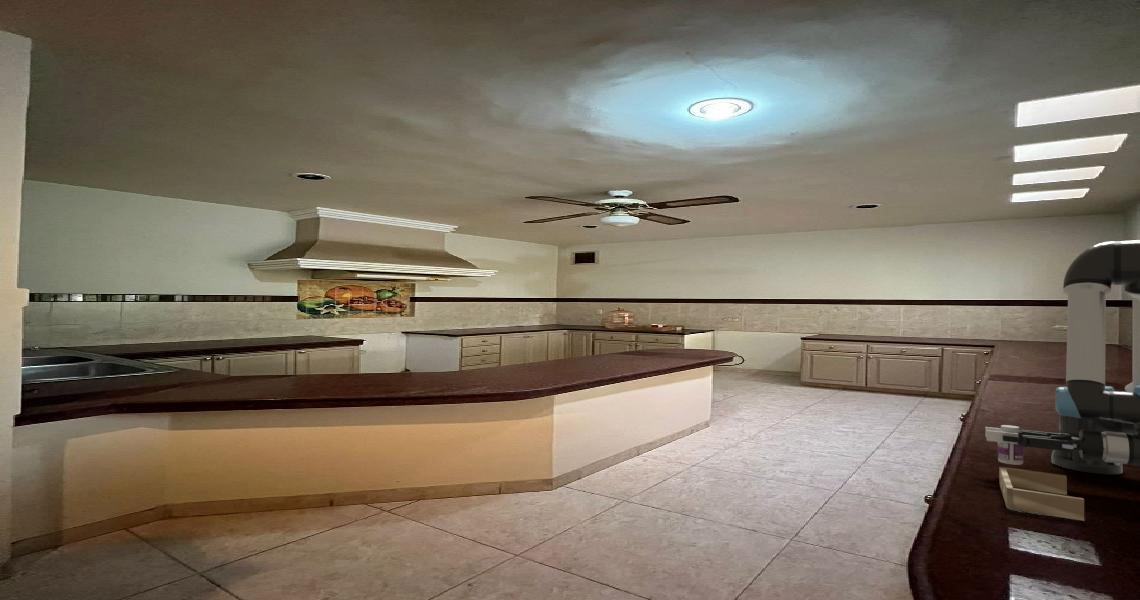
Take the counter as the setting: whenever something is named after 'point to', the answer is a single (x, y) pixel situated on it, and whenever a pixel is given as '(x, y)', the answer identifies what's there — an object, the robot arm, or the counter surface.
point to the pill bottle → (1010, 448)
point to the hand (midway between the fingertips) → (986, 433)
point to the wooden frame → (1039, 493)
